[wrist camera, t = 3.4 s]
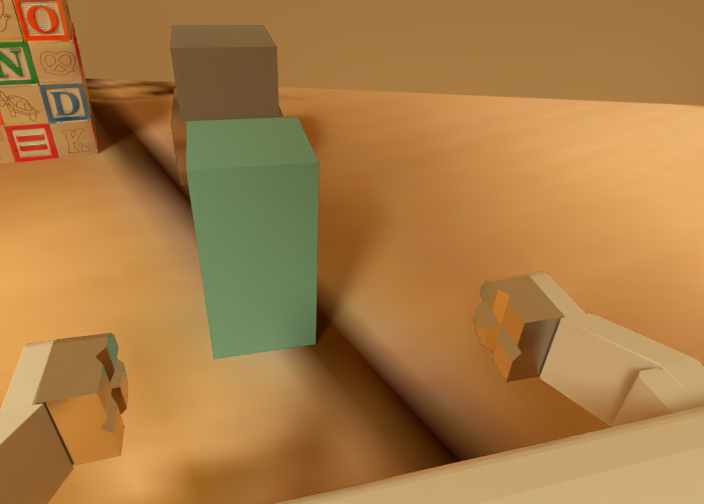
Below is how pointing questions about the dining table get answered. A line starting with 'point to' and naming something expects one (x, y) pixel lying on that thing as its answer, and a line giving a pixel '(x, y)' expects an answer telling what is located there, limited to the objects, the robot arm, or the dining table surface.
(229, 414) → the dining table surface
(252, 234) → the teal pillar
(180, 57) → the tower top
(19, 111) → the stack of blocks
